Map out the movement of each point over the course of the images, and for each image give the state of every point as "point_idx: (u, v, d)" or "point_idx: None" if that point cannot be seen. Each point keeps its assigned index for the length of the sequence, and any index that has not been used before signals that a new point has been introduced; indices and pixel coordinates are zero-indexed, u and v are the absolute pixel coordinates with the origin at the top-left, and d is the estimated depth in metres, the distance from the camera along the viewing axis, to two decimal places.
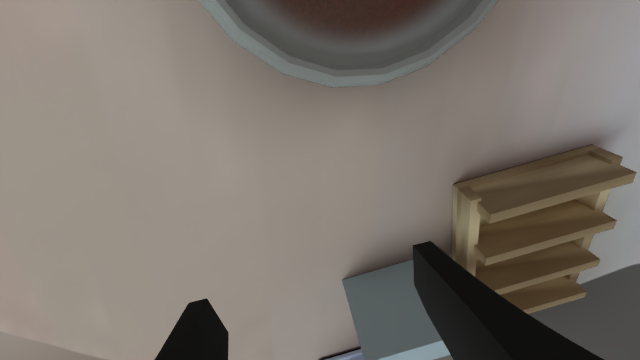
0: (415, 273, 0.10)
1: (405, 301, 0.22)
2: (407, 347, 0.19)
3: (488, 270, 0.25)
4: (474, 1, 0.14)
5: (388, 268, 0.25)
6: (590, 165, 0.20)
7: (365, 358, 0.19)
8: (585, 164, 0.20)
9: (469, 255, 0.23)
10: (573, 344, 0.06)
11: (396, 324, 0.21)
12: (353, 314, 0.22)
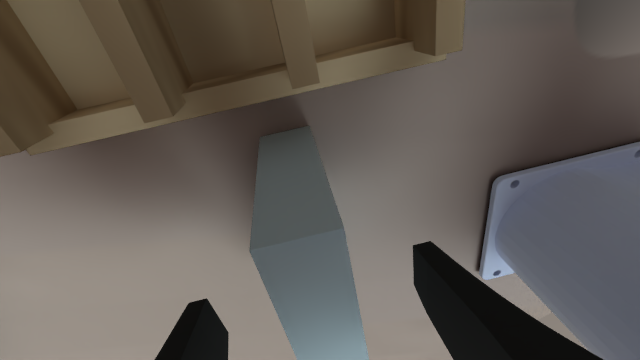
0: (415, 273, 0.10)
1: None
2: None
3: (274, 16, 0.09)
4: None
5: None
6: None
7: None
8: None
9: (197, 111, 0.09)
10: (573, 344, 0.06)
11: None
12: None
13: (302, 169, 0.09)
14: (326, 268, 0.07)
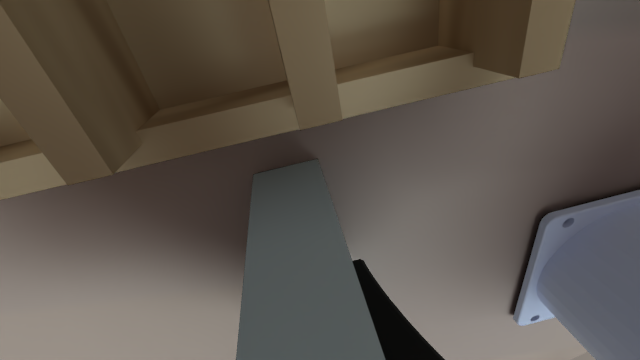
0: None
1: None
2: None
3: None
4: None
5: None
6: None
7: None
8: None
9: (160, 154, 0.06)
10: None
11: None
12: None
13: (313, 241, 0.06)
14: None
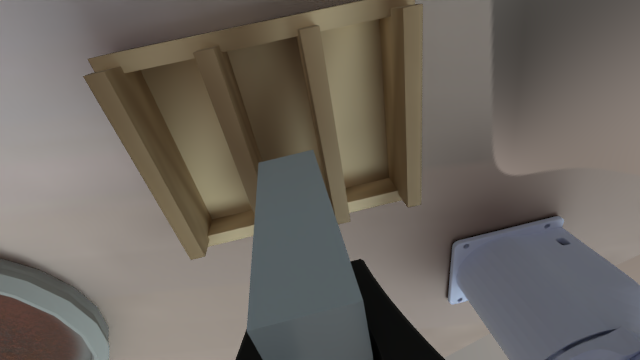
0: None
1: None
2: None
3: (326, 182, 0.17)
4: None
5: None
6: None
7: None
8: None
9: None
10: None
11: None
12: None
13: (308, 210, 0.08)
14: (339, 343, 0.06)
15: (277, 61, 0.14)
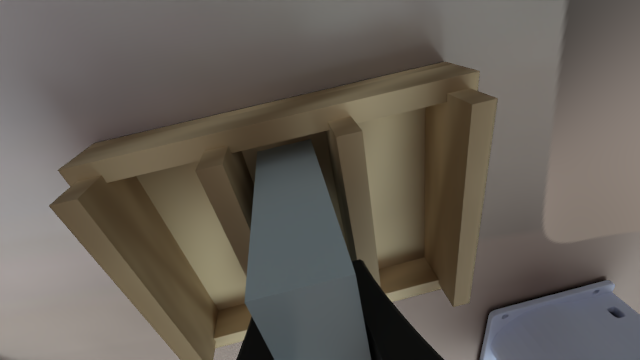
0: None
1: None
2: None
3: None
4: None
5: None
6: None
7: None
8: None
9: None
10: None
11: None
12: None
13: (304, 193, 0.08)
14: (333, 316, 0.06)
15: None
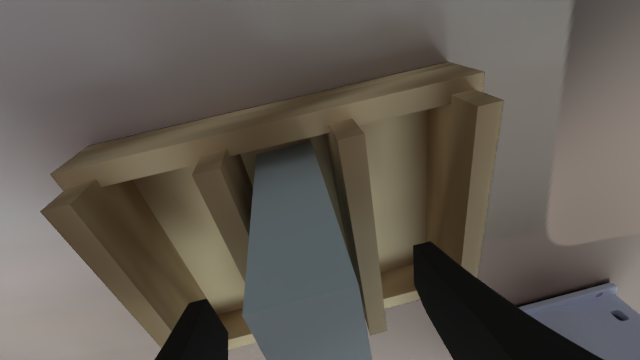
0: (415, 273, 0.10)
1: None
2: None
3: None
4: None
5: None
6: None
7: None
8: None
9: None
10: (573, 344, 0.06)
11: None
12: None
13: (304, 199, 0.08)
14: (335, 329, 0.06)
15: None
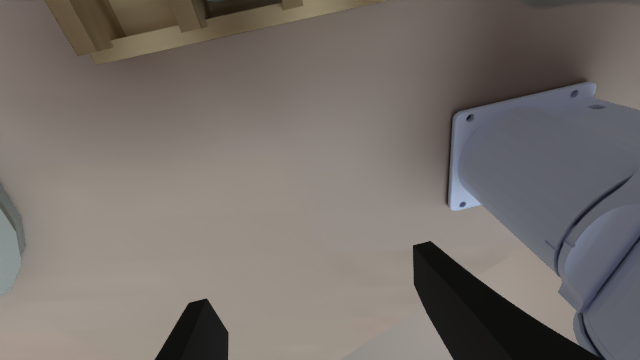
0: (415, 273, 0.10)
1: None
2: None
3: None
4: None
5: None
6: None
7: None
8: None
9: (215, 33, 0.13)
10: (573, 344, 0.06)
11: None
12: None
13: None
14: None
15: None
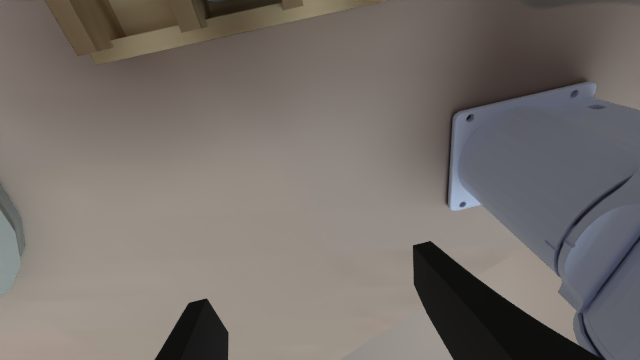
0: (415, 273, 0.10)
1: None
2: None
3: None
4: None
5: None
6: None
7: None
8: None
9: (215, 33, 0.13)
10: (573, 344, 0.06)
11: None
12: None
13: None
14: None
15: None
